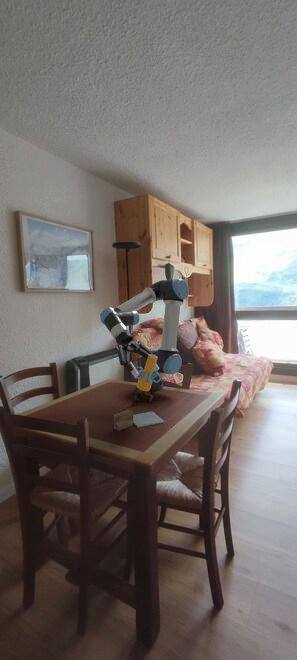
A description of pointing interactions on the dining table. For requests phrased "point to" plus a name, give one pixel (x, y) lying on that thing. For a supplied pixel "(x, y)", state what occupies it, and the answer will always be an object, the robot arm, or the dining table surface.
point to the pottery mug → (140, 392)
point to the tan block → (123, 420)
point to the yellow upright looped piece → (148, 374)
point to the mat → (146, 419)
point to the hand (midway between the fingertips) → (147, 373)
